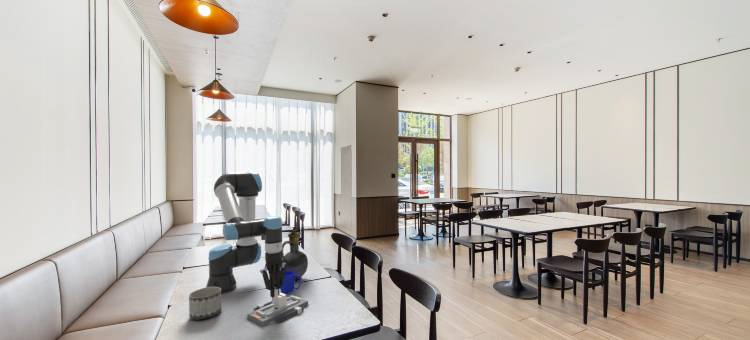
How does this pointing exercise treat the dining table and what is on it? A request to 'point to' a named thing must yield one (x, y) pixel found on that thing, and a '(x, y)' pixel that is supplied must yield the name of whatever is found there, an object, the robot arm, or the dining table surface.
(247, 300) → the dining table surface
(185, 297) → the dining table surface
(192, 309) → the planter
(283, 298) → the toggle
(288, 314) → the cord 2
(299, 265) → the pitcher
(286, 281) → the mug
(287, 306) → the panel
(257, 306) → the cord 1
